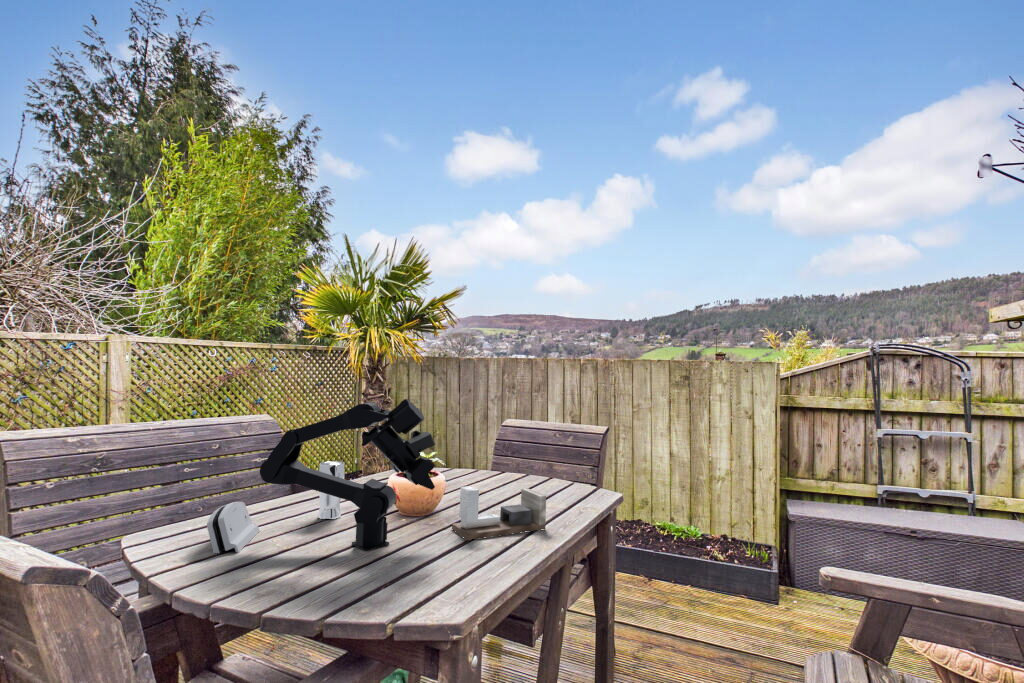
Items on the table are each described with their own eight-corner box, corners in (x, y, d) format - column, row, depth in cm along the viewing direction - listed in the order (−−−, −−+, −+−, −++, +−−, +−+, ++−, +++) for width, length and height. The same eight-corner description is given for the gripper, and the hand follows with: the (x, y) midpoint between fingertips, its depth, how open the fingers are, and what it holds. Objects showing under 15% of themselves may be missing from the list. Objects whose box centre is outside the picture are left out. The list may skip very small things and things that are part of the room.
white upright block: (337, 521, 139) (339, 465, 140) (311, 520, 139) (315, 464, 140) (345, 514, 146) (348, 461, 147) (321, 513, 146) (324, 460, 147)
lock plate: (466, 540, 126) (468, 503, 126) (451, 529, 135) (453, 494, 135) (545, 529, 137) (546, 495, 137) (526, 520, 146) (527, 488, 146)
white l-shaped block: (466, 529, 129) (468, 490, 129) (459, 524, 133) (460, 486, 134) (501, 525, 133) (502, 487, 134) (493, 520, 138) (494, 484, 138)
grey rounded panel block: (238, 553, 112) (224, 510, 112) (215, 561, 111) (201, 518, 111) (260, 530, 129) (248, 493, 129) (240, 537, 128) (228, 499, 128)
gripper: (428, 424, 118) (470, 470, 122) (404, 418, 134) (442, 458, 139) (392, 461, 113) (437, 506, 118) (373, 449, 130) (413, 489, 134)
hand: (433, 488), depth 127 cm, fingers closed
